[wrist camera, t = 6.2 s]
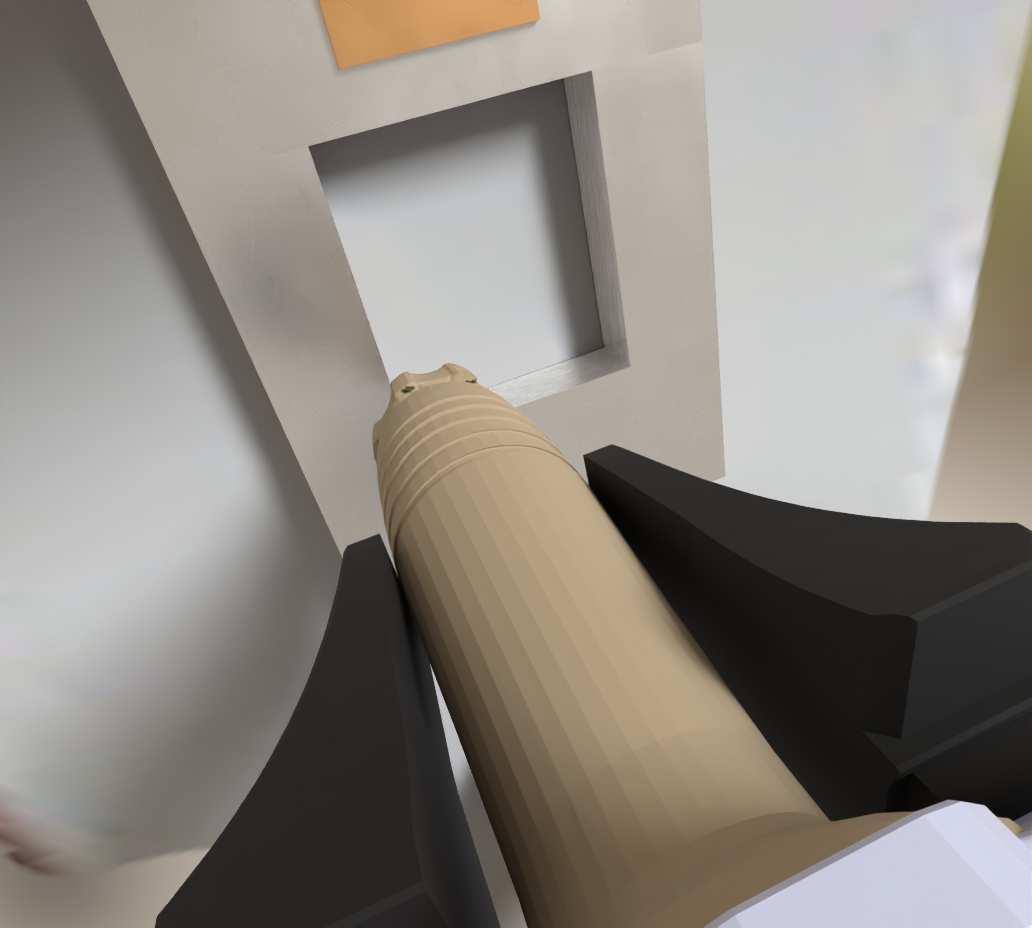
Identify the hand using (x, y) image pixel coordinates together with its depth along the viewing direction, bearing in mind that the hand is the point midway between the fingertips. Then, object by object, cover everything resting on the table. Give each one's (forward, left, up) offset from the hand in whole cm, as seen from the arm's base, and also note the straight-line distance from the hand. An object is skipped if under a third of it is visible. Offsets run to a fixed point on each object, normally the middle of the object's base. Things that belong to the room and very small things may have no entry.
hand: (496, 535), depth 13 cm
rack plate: (+2, -3, -10) cm, 11 cm away
